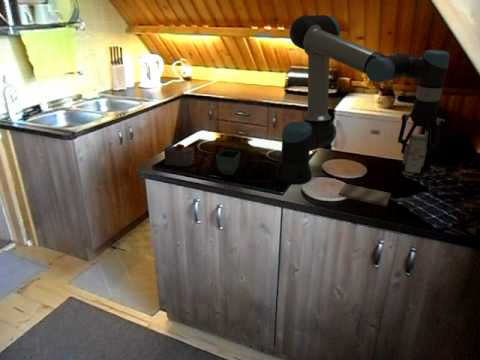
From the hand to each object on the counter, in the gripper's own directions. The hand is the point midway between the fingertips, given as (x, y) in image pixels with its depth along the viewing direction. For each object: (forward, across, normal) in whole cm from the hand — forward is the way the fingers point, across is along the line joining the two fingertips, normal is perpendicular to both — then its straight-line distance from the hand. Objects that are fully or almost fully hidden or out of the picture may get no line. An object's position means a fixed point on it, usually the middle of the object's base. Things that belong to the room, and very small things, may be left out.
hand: (412, 163), depth 138 cm
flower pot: (+18, -72, -7) cm, 75 cm away
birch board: (+17, -14, 0) cm, 22 cm away
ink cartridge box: (+2, 0, 0) cm, 2 cm away
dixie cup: (+17, -2, +33) cm, 37 cm away
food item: (+18, -97, -10) cm, 99 cm away
